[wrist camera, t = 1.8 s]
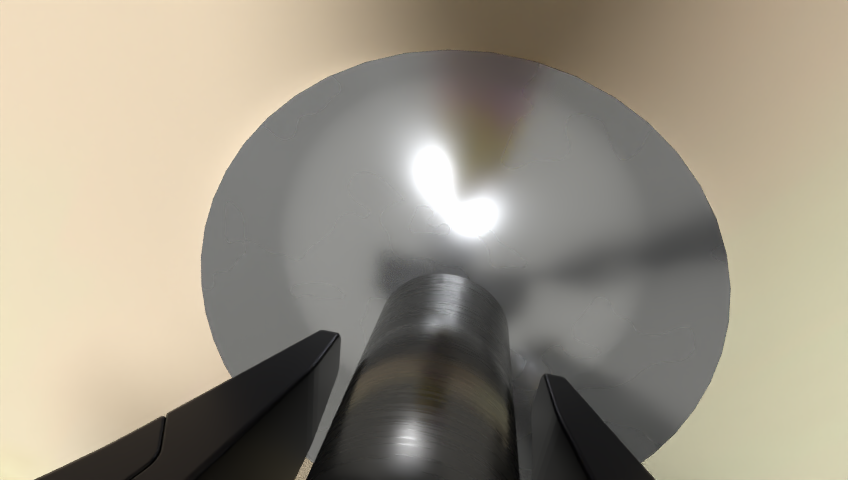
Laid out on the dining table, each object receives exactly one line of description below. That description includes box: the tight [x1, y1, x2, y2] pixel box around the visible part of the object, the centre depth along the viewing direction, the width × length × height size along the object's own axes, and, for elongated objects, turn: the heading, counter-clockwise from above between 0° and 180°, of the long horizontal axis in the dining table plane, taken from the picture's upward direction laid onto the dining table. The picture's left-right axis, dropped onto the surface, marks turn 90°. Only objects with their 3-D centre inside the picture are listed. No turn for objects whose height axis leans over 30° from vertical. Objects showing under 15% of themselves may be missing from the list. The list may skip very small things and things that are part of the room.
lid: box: [201, 50, 731, 480], centre depth 8 cm, size 12×12×6 cm
